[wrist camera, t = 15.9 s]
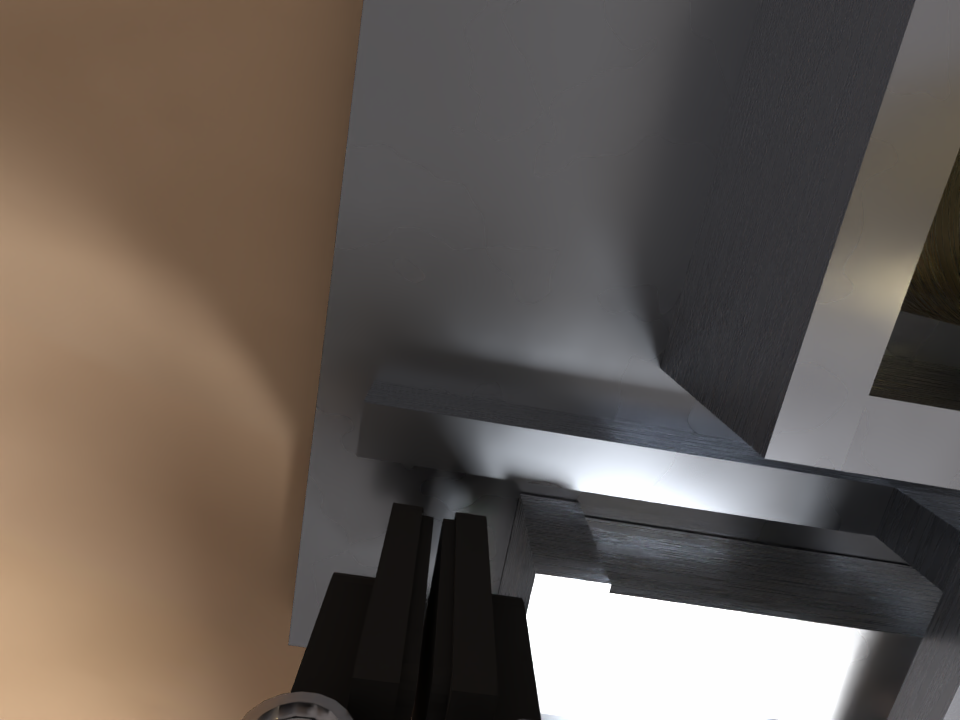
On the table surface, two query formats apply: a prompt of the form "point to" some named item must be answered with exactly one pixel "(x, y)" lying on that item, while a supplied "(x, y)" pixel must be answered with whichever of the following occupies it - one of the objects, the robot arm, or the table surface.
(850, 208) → the dock
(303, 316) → the table surface
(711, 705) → the lock pin
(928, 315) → the peg
